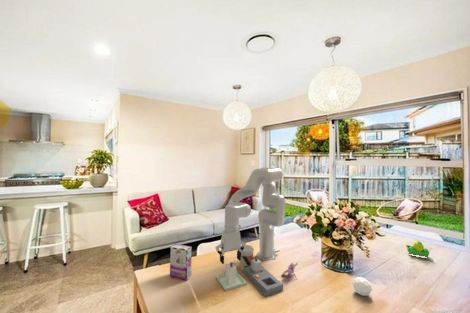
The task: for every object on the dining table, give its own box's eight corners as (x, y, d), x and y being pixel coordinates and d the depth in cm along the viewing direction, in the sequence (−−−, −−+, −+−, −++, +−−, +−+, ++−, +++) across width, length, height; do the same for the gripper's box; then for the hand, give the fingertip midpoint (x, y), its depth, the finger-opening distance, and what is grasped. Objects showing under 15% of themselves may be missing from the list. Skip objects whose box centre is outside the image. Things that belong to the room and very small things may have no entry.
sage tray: (236, 273, 116) (236, 270, 116) (246, 285, 105) (246, 282, 105) (216, 279, 110) (216, 275, 110) (225, 292, 99) (225, 288, 100)
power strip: (243, 274, 116) (244, 266, 116) (258, 269, 120) (258, 263, 120) (266, 297, 96) (266, 288, 96) (283, 291, 100) (283, 283, 100)
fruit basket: (427, 256, 140) (427, 239, 140) (430, 261, 133) (430, 244, 133) (405, 252, 146) (405, 236, 147) (408, 256, 139) (408, 240, 139)
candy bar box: (191, 276, 113) (192, 246, 113) (186, 281, 108) (187, 250, 109) (175, 272, 117) (175, 243, 117) (169, 276, 112) (169, 246, 112)
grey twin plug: (257, 272, 116) (257, 255, 116) (261, 276, 112) (261, 258, 113) (251, 274, 114) (251, 257, 114) (254, 278, 111) (255, 260, 111)
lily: (301, 274, 117) (293, 257, 121) (309, 277, 107) (301, 258, 110) (283, 283, 115) (275, 266, 118) (289, 287, 104) (281, 267, 107)
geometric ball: (364, 302, 97) (363, 294, 93) (349, 287, 104) (348, 279, 100) (375, 293, 98) (375, 284, 95) (361, 279, 105) (360, 270, 101)
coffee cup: (242, 274, 115) (243, 252, 116) (235, 266, 124) (235, 246, 124) (256, 270, 120) (256, 249, 120) (248, 263, 128) (248, 243, 128)
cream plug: (232, 278, 110) (233, 260, 110) (236, 282, 107) (236, 263, 107) (226, 280, 108) (226, 262, 109) (229, 284, 105) (229, 265, 105)
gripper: (242, 224, 115) (241, 255, 114) (213, 228, 107) (212, 261, 107) (249, 228, 108) (248, 261, 108) (219, 232, 101) (217, 267, 100)
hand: (230, 261), depth 107 cm, fingers open, 9 cm apart
